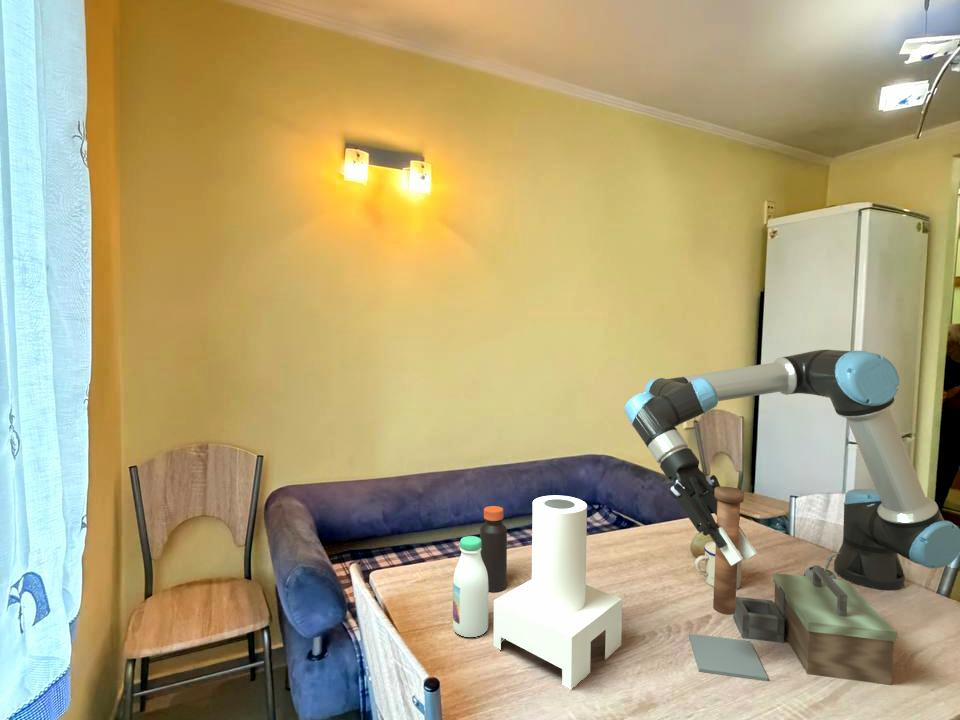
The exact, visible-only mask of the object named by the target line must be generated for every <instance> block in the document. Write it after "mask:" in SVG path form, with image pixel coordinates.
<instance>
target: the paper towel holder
mask: <svg viewBox="0 0 960 720" xmlns="http://www.w3.org/2000/svg"><path fill="white" fill-rule="evenodd" d="M587 513H588V504H587V503H586V502H585V501H583V500H582V499H579V498H576V497H572V496H570V495H569V496H568V495H556V494H555V495H545V496H544V495H543V496H540V497H537V498H535V499H534V500H533V501H532V527H531V528H532V531H531V534H532V538H531V541H532V542H531V543H532V544H531V546H532V547H531V552H532V553H531V579H530V580H528V581H526V582H524V583H522V584H521V585H519V586H517V587H515V588H514V589H512V590H510V591H508V592H507V593H504V594H503V595H501V596H499V597H497V598H496V599H494V600H493V647H494V646H495V647H497V648H499V649H500V650H501V651H502V649H501V648H502V647H501V646H502V645H501V644H502V642H501V641H502V640H503V639H506V640H505V641H507V642H510V643H512V644H514V645H515V646H517V647H520V648H521V649H524V651H527V652H529V653H530V654H533V655H534V656H536V657H538V658H540V659H542V660H544V661H546V662H548V663H550V664H552V665H554V666H555V667H558V669H559V668H560V669H561V674H562V675H561V686H562V685H564V686H566V687H568V688H569V689H568V688H567V689H568V690H570V689H571V690H570V691H572V690H573V689H574V688H576V687H577V686H578V685H577V684H578V683H579V682H580V681H581V680H582V681H583V680H584V679H585V678H587V677H588V676H589V675H590V674H591V655H592V654H591V653H592V652H591V651H592V650H591V648H592V647H591V644H592V641H593V640H594V639H596V638H597V637H599V636H600V635H601V634H602V633H603V632H604V631H605V642H604V643H605V647H604V648H605V651H604V660H607V659H608V658H610V656H611V655H612V654H613V653H615V651H617V650H618V649H619V648H620V647H621V646H622V621H623V619H622V618H623V616H622V615H623V598H622V597H620V596H617V595H614V594H611V593H608V592H606V591H603V590H601V589H598V588H595V587H593V586H590V585H588V584H587V583H586V582H587V581H586V580H587V578H586V577H587V527H588V525H587V523H588V522H587V520H588V517H587V516H588V514H587ZM589 673H590V674H589ZM588 674H589V675H588ZM587 675H588V676H587ZM582 681H581V682H582ZM581 682H580V683H581ZM580 683H579V684H580ZM564 686H563V687H564ZM566 687H565V688H566ZM573 687H574V688H573ZM572 688H573V689H572Z"/></svg>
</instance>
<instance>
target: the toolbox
mask: <svg viewBox="0 0 960 720" xmlns="http://www.w3.org/2000/svg"><path fill="white" fill-rule="evenodd" d="M812 567H813V577H809V576H804V575H797V574H789V573H788V574H786V573H777V572H773V578H772V582H773V583H774V598H773V600H770V599H764V598H763V599H762V598H761V599H760V598H754V597H753V598H752V597H743V596H736V607H735V613H734V614H732V619H733V621H734V623H735V625H736V628H737V630H738V632H739V634H740V636H741V638H742V639H750V640H758V641H759V640H760V641H767V642H773V643H774V642H775V643H782V644H783V643H784V642H785V640H786V641H787V643H788V644H789V646H790V647H791V649H792V651H793V653H794V655H796V658H797V659H798V661H799V662H800V664H801V666H802V667H803V670H804V671H805V673H806V674H807V675H811V676H812V675H814V676H822V677H828V678H837V679H842V680H851V681H858V682H859V681H860V682H865V683H866V682H867V683H875V684H880V685H881V684H882V685H890V686H892V685H893V684H892V682H893V663H894V661H893V660H894V642H896V643H897V642H898V641H897V637H898V631H896V629H895V628H894V627H892V625H891V624H890V623H889V622H888V621H887V620H886V619H885V618H884V617H883V616H882V615H881V614H880V613H879V612H878V611H877V610H876V608H874V607H873V606H872V605H871V604H870V603H869V602H868V600H866V599H865V598H864V597H863V595H861V594H860V593H859V592H858V591H857V590H856V589H855V587H853V585H852V584H850V582H849V581H848V580H846V579H841V578H840V579H838V578H837V579H832V578H831V577H830V576H829V575H828V574H827V573H826V572H825V571H824V570H823V569H822V568H823V567H822V566H820V565H816V564H813V566H812ZM821 567H822V568H821Z"/></svg>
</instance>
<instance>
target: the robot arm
mask: <svg viewBox="0 0 960 720" xmlns="http://www.w3.org/2000/svg"><path fill="white" fill-rule="evenodd" d="M899 385H900V377H899V373H898V370H897V369H896V367H895V365H894V364H893V363H892V362H891V361H890V360H889V359H888V358H887V357H885V356H883V355H881V354H878V353H876V352H870V351H866V350H836V349H835V350H834V349H817V350H813V351H807V352H802V353H801V352H800V353H797V354H793V355H789V356H787V355H786V356H783V357H778V358H775V359H774V360H773V362H768V363H764V364H761V363H760V364H757V365H750V366H743V367H737V368H730V369H724V370H718V371H710V372H704V373H698V374H691V375H683V376H678V377H672V378H664V377H657V378H653V379H651V380H649V381H648V382H647V384H645V387H644V391H643V392H640V393H638V394H635V395H633V396H632V397H631V398H630V399H629V400H627V402H626V403H625V405H624V413H625V415H626V416H627V419H628V420H629V422H630V424H631V426H632V427H633V428H634V429H635V431H636V433H637V434H638V435H639V437H640V438H641V440H642V441H643V443H644V444H645V446H646V447H647V449H648V451H649V452H650V453H651V455H652V456H653V458H654V460H655V461H656V462H657V464H659V465H660V466H659V467H660V469H661V471H662V472H663V473H664V475H665V477H666V478H667V479H668V480H669V481H672V482H673V486H671V487H670V488H669V489H668V493H669V494H670V495H671V496H672V497H673V498H674V499H675V500H676V501H677V503H678V505H679V506H680V507H681V509H682V510H683V512H684V513H685V515H686V516H687V517H688V519H689V520H690V522H691V524H692V525H693V526H694V528H695V529H696V530H697V533H698V532H700V533H701V532H703V535H705V536H707V535H708V534H709V535H710V536H711V538H712V539H713V541H714V542H715V543H716V545H717V547H718V548H719V549H720V550H721V551H722V553H723V554H724V556H725V557H726V559H727V560H728V562H729V563H730V565H731V566H732V565H734V564H736V563H737V562H739V561H741V560H745V561H747V560H749V559H750V558H751V559H752V557H754V556H755V555H757V554H758V552H757V550H756V549H755V548H754V547H753V545H752V544H751V541H749V539H748V538H747V535H746V534H745V533H744V532H743V530H742V528H741V526H739V539H738V550H739V552H740V553H741V555H742V556H741V555H740V553H739V552H738V550H737V549H736V547H735V546H734V544H733V543H732V541H731V540H730V538H729V537H728V535H727V534H726V533H725V531H724V530H723V528H722V527H720V528H718V526H717V521H715V518H714V516H713V514H714V515H715V516H716V517H717V502H718V500H717V499H716V498H715V497H714V494H715V488H716V487H722V486H721V485H720V483H719V480H718V477H717V476H716V475H715V474H712V475H711V476H708V475H706V474H705V473H704V472H703V471H702V470H700V468H699V465H700V460H699V458H698V457H697V456H696V454H695V453H694V452H693V450H692V449H691V448H689V444H688V443H687V442H686V440H685V439H684V437H683V436H682V435H681V433H680V431H678V429H677V426H680V425H681V424H683V423H685V422H688V421H690V420H692V419H694V418H697V417H699V416H701V415H703V414H706V413H707V412H709V411H711V410H712V409H714V408H716V407H717V406H718V404H719V402H722V401H729V400H734V399H743V398H748V397H753V396H754V397H755V396H761V395H762V396H763V395H767V394H773V393H780V394H783V395H787V396H788V395H796V394H801V395H802V394H804V395H812V396H813V395H814V396H819V397H823V398H829V399H830V401H831V403H832V406H833V408H834V411H835V413H836V415H837V416H840V417H842V418H845V419H846V420H847V422H848V425H849V427H850V430H851V432H852V435H853V438H854V440H855V442H856V445H857V447H858V449H859V451H860V454H861V456H862V458H863V461H864V463H865V466H866V469H867V471H868V473H869V476H870V478H871V481H872V483H873V485H874V488H875V489H869V488H865V489H864V488H856V489H850V490H848V491H847V492H846V493H845V498H844V502H843V527H842V528H843V531H842V535H843V536H842V544H841V546H840V548H839V549H838V552H837V553H839V552H840V554H838V555H836V556H835V558H834V560H833V561H834V562H833V563H834V564H833V571H834V572H835V574H837V575H838V576H839V577H840V578H842V579H843V580H846V581H847V582H851V583H854V584H857V585H859V586H864V587H867V588H872V589H876V590H883V591H884V590H885V591H886V590H887V591H893V590H896V591H897V590H900V589H903V588H904V587H905V583H906V581H905V579H906V577H905V573H904V570H903V566H902V564H901V561H900V558H899V556H900V557H901V556H902V557H903V558H906V559H907V560H909V561H911V562H913V563H914V564H918V565H921V566H923V567H926V568H928V569H942V568H944V567H947V566H949V565H950V564H951V563H953V562H954V561H955V560H956V559H957V558H958V557H959V554H960V528H959V527H958V526H957V525H956V524H954V523H953V522H952V521H949V520H945V519H944V517H943V515H942V513H941V510H940V508H939V506H938V504H937V502H936V501H935V500H933V499H932V498H930V497H927V496H926V495H925V491H924V489H923V487H922V484H921V482H920V480H919V477H918V475H917V473H916V470H915V467H914V466H913V463H912V461H911V458H910V456H909V453H908V451H907V448H906V446H905V445H906V444H905V443H904V441H903V438H902V436H901V433H900V430H899V428H898V426H897V423H896V421H895V418H894V415H893V413H892V411H891V408H892V406H893V405H894V404H895V402H896V400H895V396H896V395H897V393H898V388H897V387H898V386H899ZM710 509H711V511H712V512H713V514H712V512H711V511H710ZM739 521H741V516H740V517H739ZM717 528H718V529H717Z"/></svg>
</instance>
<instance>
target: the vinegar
mask: <svg viewBox="0 0 960 720" xmlns="http://www.w3.org/2000/svg"><path fill="white" fill-rule="evenodd" d="M483 520H484V523H483V524H482V525H481V527H480V529H479V538H480V539H481V542H482V545H481V551H480V553H481V558H482V560H483V563H484V565H485V567H486V570H487V574H488V591H491V592H490V593H498V592H497V591H499V592H502V591H503V590H505V589H506V587H507V569H508V568H507V566H508V563H507V561H508V557H507V556H508V529H507V526H505V524H504V523H503V520H504V508H503V507H500V506H498V505H497V506H496V505H491V506H486V507H484V508H483ZM501 590H502V591H501Z"/></svg>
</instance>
